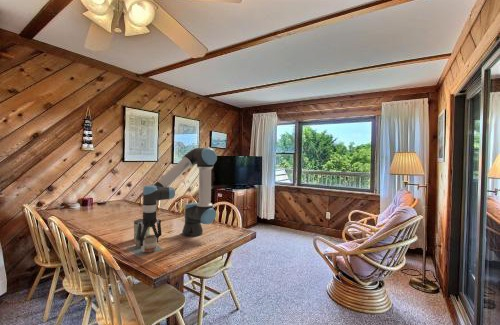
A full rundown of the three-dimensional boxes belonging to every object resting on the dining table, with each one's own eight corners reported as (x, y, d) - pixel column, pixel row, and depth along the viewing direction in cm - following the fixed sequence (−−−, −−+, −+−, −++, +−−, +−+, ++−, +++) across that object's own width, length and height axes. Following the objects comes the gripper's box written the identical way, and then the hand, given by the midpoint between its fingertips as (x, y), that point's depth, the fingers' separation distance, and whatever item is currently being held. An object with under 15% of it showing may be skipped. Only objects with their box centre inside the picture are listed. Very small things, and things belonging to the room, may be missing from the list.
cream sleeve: (152, 246, 159) (152, 234, 159) (157, 250, 154) (157, 236, 154) (141, 249, 154) (141, 236, 154) (145, 252, 149) (145, 239, 149)
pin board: (151, 243, 171) (152, 233, 170) (164, 251, 158) (164, 240, 157) (126, 249, 160) (126, 238, 159) (137, 258, 147) (137, 246, 146)
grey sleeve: (141, 243, 167) (141, 231, 167) (149, 245, 165) (149, 232, 164) (133, 246, 161) (133, 234, 161) (141, 248, 158) (141, 235, 158)
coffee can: (131, 240, 175) (131, 220, 175) (146, 237, 182) (147, 218, 182) (136, 245, 168) (136, 223, 167) (152, 241, 175) (152, 221, 174)
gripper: (162, 208, 163) (162, 244, 164) (130, 212, 149) (129, 251, 150) (168, 210, 158) (167, 247, 158) (134, 215, 144) (134, 255, 145)
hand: (149, 249), depth 154 cm, fingers closed on cream sleeve, 7 cm apart
